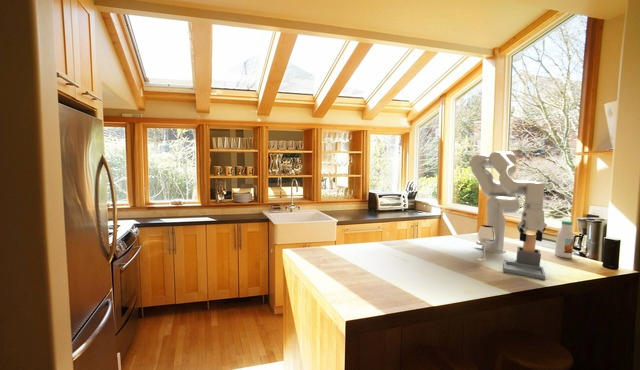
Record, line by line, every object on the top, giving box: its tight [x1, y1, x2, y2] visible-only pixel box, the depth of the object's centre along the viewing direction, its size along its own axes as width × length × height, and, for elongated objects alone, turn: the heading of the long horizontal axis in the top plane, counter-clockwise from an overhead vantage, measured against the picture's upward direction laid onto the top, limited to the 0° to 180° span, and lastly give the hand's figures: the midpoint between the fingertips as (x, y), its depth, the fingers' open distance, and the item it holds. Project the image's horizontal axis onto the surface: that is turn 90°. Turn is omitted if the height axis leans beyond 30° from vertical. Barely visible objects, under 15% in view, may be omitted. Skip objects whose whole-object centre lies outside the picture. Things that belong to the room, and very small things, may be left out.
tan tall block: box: [522, 232, 537, 253], centre depth 162 cm, size 5×5×15 cm
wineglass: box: [477, 224, 495, 262], centre depth 166 cm, size 8×8×18 cm
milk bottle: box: [554, 220, 575, 259], centre depth 181 cm, size 8×8×20 cm
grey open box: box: [515, 246, 542, 267], centre depth 163 cm, size 10×10×8 cm
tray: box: [502, 260, 546, 281], centre depth 152 cm, size 16×14×2 cm
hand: (530, 240), depth 161 cm, fingers open, 9 cm apart
